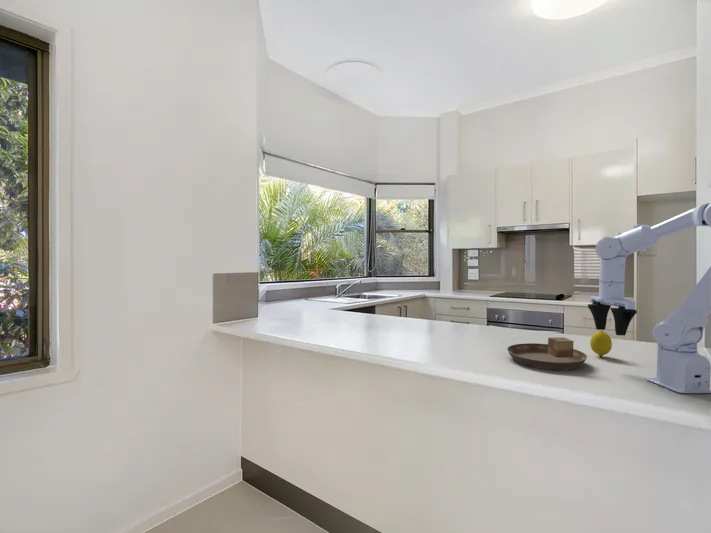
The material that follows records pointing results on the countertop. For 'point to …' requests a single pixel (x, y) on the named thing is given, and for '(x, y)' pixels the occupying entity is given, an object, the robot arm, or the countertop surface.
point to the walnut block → (560, 347)
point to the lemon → (601, 343)
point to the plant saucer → (544, 357)
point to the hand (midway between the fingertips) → (610, 332)
